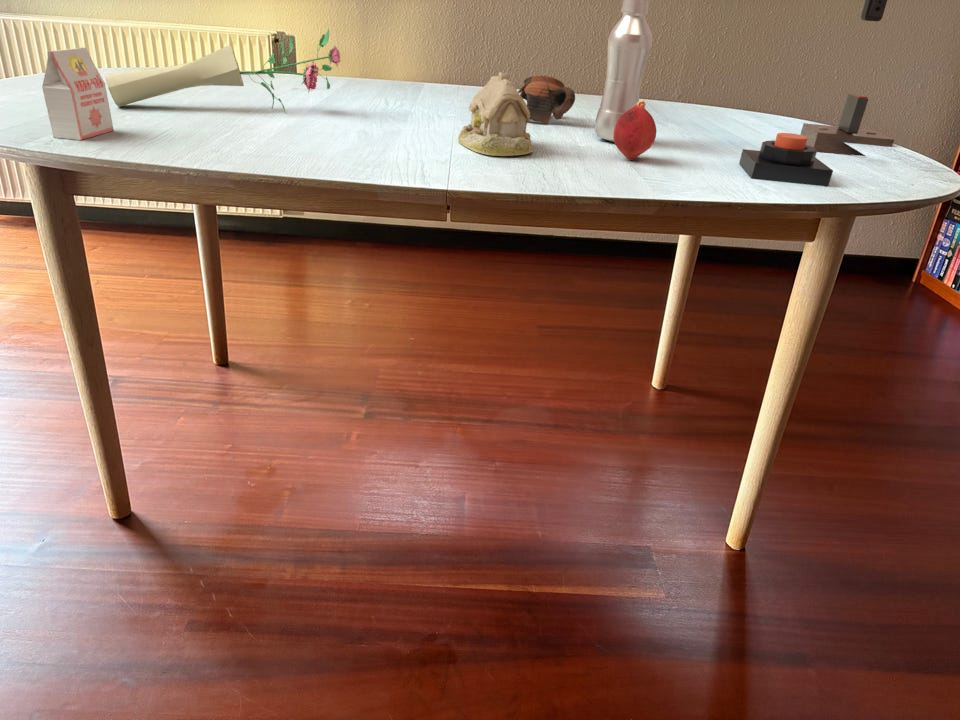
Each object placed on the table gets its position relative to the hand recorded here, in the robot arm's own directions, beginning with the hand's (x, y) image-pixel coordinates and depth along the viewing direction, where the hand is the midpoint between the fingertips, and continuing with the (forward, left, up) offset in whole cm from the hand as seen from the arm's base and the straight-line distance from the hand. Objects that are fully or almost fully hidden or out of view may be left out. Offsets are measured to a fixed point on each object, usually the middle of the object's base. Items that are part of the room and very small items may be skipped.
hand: (870, 20), depth 91 cm
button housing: (+8, +7, -20) cm, 22 cm away
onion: (+29, +7, -20) cm, 36 cm away
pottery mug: (+43, -19, -20) cm, 51 cm away
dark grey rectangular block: (-8, -19, -17) cm, 27 cm away
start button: (+8, +7, -16) cm, 19 cm away
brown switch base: (-8, -19, -20) cm, 29 cm away
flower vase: (+92, -1, -20) cm, 94 cm away
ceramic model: (+48, +7, -20) cm, 52 cm away
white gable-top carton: (+100, +25, -20) cm, 105 cm away
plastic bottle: (+31, -6, -20) cm, 37 cm away
